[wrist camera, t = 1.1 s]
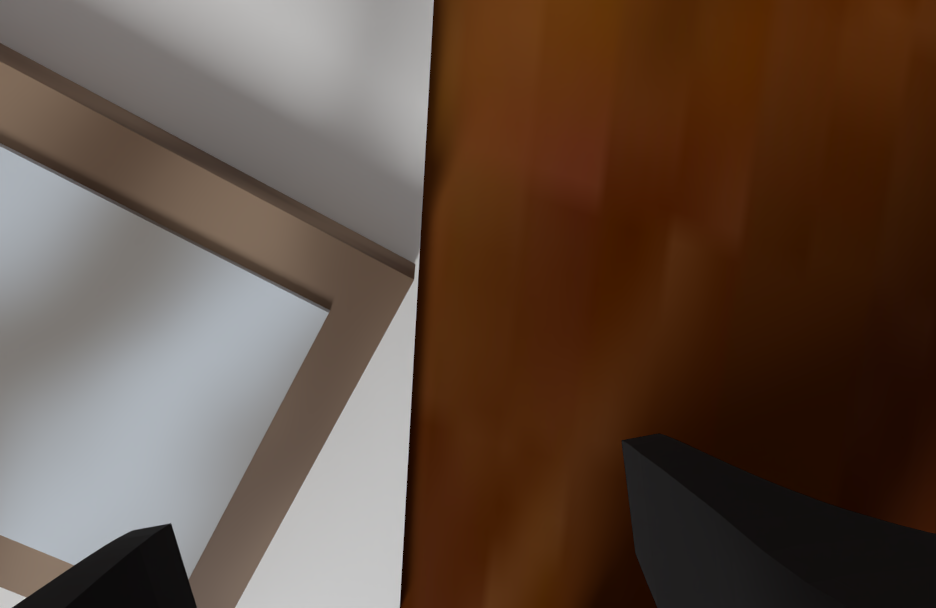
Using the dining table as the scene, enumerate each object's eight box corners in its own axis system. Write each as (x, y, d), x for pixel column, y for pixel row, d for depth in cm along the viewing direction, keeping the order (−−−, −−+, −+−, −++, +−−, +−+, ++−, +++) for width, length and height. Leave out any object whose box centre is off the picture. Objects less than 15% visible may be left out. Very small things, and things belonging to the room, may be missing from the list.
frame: (415, 264, 18) (413, 288, 15) (225, 613, 20) (188, 698, 17) (-113, -18, 16) (-246, -58, 13) (-267, 409, 18) (-414, 465, 15)
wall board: (433, 0, 18) (435, -29, 15) (399, 612, 22) (395, 684, 19) (-400, -75, 16) (-583, -125, 13) (-266, 598, 20) (-383, 675, 17)
